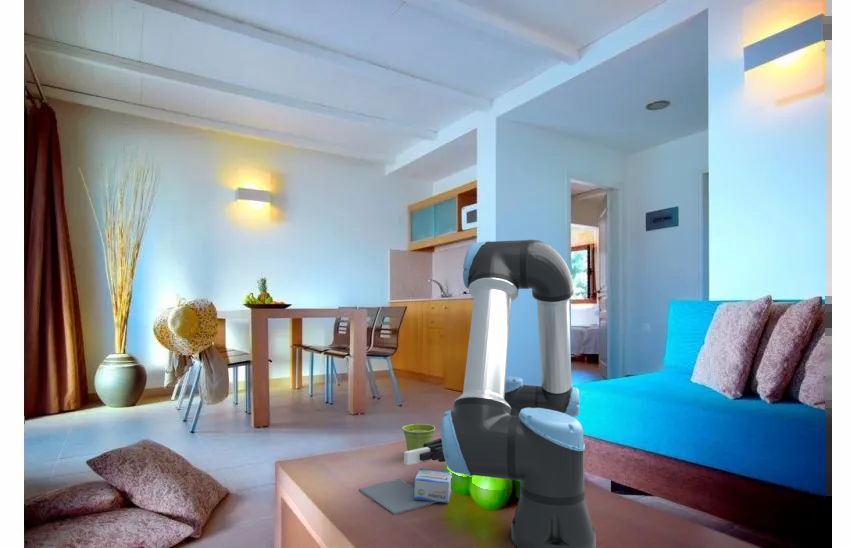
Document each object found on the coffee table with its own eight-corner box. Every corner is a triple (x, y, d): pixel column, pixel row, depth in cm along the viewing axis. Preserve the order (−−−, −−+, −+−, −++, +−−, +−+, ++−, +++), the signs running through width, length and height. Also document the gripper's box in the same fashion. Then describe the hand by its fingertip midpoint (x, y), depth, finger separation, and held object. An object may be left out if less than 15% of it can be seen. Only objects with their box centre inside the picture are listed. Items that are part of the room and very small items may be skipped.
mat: (437, 502, 106) (437, 500, 106) (394, 514, 100) (394, 513, 100) (398, 480, 120) (398, 478, 120) (359, 490, 113) (359, 488, 113)
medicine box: (452, 471, 114) (449, 482, 105) (451, 490, 113) (448, 503, 105) (419, 467, 115) (414, 479, 106) (418, 487, 114) (412, 500, 106)
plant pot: (399, 454, 140) (399, 424, 140) (430, 452, 142) (430, 422, 142) (405, 465, 131) (405, 432, 131) (439, 462, 133) (439, 430, 133)
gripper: (499, 463, 120) (421, 483, 106) (466, 450, 130) (391, 467, 117) (499, 432, 120) (421, 448, 107) (466, 421, 131) (391, 435, 117)
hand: (405, 458), depth 112 cm, fingers closed
